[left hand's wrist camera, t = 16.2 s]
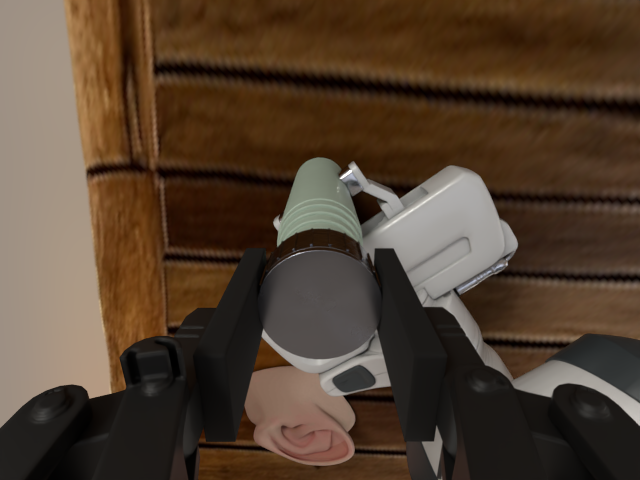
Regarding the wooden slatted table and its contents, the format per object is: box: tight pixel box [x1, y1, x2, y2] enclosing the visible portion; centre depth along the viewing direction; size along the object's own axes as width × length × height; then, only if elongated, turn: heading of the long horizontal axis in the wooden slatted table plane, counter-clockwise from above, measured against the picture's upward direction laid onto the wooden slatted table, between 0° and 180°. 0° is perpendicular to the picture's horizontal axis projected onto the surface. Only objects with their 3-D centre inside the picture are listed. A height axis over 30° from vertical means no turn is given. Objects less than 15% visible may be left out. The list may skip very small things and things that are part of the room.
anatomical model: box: [245, 366, 355, 466], centre depth 40 cm, size 13×4×12 cm
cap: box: [258, 228, 383, 359], centre depth 14 cm, size 4×5×2 cm
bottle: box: [277, 158, 363, 247], centre depth 23 cm, size 4×4×21 cm
